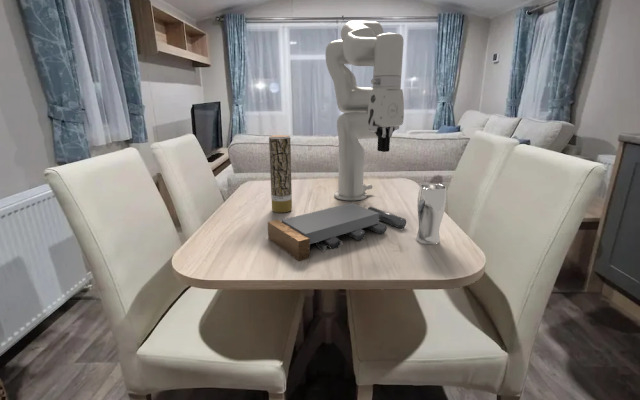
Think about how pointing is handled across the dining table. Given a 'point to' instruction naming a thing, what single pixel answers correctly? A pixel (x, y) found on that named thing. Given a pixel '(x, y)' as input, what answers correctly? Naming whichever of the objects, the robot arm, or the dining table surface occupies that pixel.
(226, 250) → the dining table surface
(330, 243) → the roller
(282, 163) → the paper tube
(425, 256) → the dining table surface
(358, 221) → the slab
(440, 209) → the beer glass
